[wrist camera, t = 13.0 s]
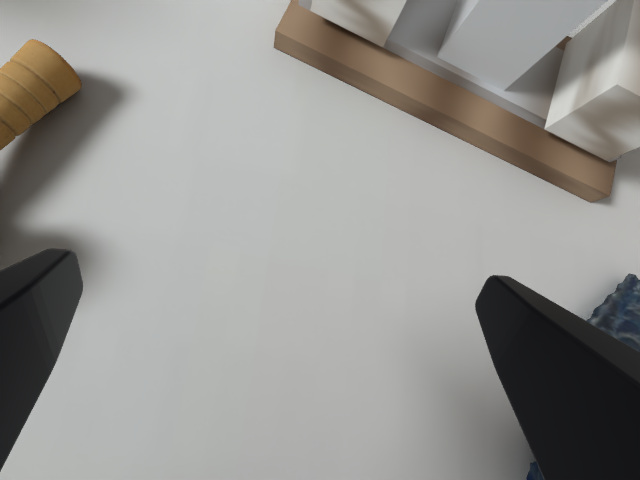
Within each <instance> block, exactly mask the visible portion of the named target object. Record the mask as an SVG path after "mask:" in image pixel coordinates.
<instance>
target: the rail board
mask: <svg viewBox="0 0 640 480" xmlns="http://www.w3.org/2000/svg"><path fill="white" fill-rule="evenodd" d="M457 1H458V0H291V2H290V4H289V6H288V8H287V10H286V12H285V14H284V15H283V17H282V19H281V21H280V23H279V25H278V27H277V29H276V31H275V41H274V48H276V49H278V50H280V51H282V52H284V53H286V54H288V55H290V56H292V57H294V58H297V59H299V60H301V61H303V62H305V63H307V64H309V65H311V66H313V67H315V68H317V69H319V70H321V71H323V72H325V73H327V74H329V75H331V76H333V77H335V78H337V79H339V80H341V81H344V82H346V83H348V84H350V85H352V86H354V87H356V88H358V89H360V90H362V91H364V92H366V93H368V94H370V95H372V96H374V97H376V98H378V99H380V100H382V101H384V102H386V103H388V104H390V105H393V106H395V107H397V108H399V109H401V110H403V111H405V112H407V113H409V114H411V115H413V116H415V117H417V118H419V119H421V120H423V121H425V122H427V123H429V124H431V125H433V126H435V127H437V128H440V129H442V130H444V131H446V132H448V133H450V134H452V135H454V136H456V137H458V138H460V139H462V140H464V141H466V142H468V143H470V144H472V145H474V146H476V147H478V148H480V149H482V150H484V151H487V152H489V153H491V154H493V155H495V156H497V157H499V158H501V159H503V160H505V161H507V162H509V163H511V164H513V165H515V166H517V167H519V168H521V169H523V170H525V171H527V172H529V173H531V174H533V175H536V176H538V177H540V178H542V179H544V180H546V181H548V182H550V183H552V184H554V185H556V186H558V187H560V188H562V189H564V190H566V191H568V192H570V193H572V194H574V195H576V196H578V197H580V198H583V199H585V200H587V201H589V202H593V201H596V200H599V199H602V198H605V197H609V196H610V193H611V188H612V182H613V177H614V172H615V167H616V162H617V159H619V158H621V155H622V154H624V153H627V152H629V151H632V150H634V149H636V148H639V147H640V0H617V1H616V2H614V3H613V4H612V5H611V6H610V7H609V8H607V9H606V10H605V11H604V12H603V13H601V14H600V15H599V16H598V17H597V18H596V19H594V20H593V21H592V22H591V23H590V24H588V25H587V26H586V27H585V28H584V29H583V30H581V31H580V32H579V33H578V34H577V35H575V36H574V37H573V38H571V37H569V36H566V37H565V38H564V39H563V40H562V41H561V42H559V43H558V44H557V45H556V46H555V47H554V48H552V49H551V50H550V51H549V52H548V53H547V54H546V55H544V56H543V57H542V58H541V59H540V60H539V61H537V62H536V63H535V64H534V65H533V66H532V67H531V68H529V69H528V70H527V71H526V72H525V73H524V74H522V75H521V76H520V77H519V78H518V79H517V80H516V81H514V82H513V83H512V84H511V85H510V86H509V87H507V88H506V89H505V90H504V91H503V90H501V89H499V88H497V87H495V86H493V85H491V84H489V83H487V82H485V81H483V80H481V79H479V78H477V77H475V76H473V75H471V74H469V73H467V72H465V71H463V70H461V69H459V68H458V67H456V66H454V65H452V64H450V63H448V62H446V61H444V60H442V59H440V58H438V57H437V56H438V53H439V51H440V48H441V45H442V43H443V40H444V37H445V34H446V32H447V29H448V26H449V23H450V21H451V18H452V15H453V12H454V10H455V7H456V4H457Z"/></svg>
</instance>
